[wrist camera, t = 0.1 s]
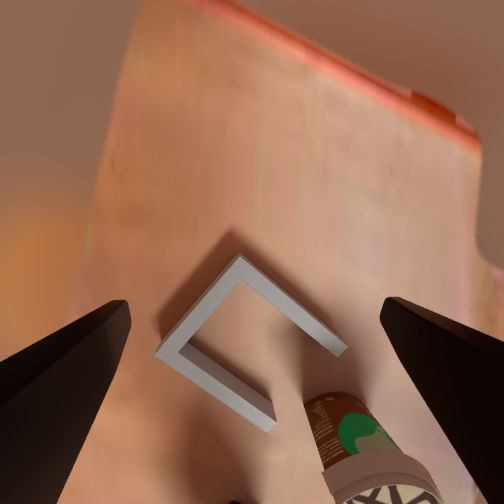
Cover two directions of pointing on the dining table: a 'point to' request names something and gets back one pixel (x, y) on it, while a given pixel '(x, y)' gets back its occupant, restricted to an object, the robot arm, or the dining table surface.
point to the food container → (364, 456)
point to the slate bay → (215, 376)
